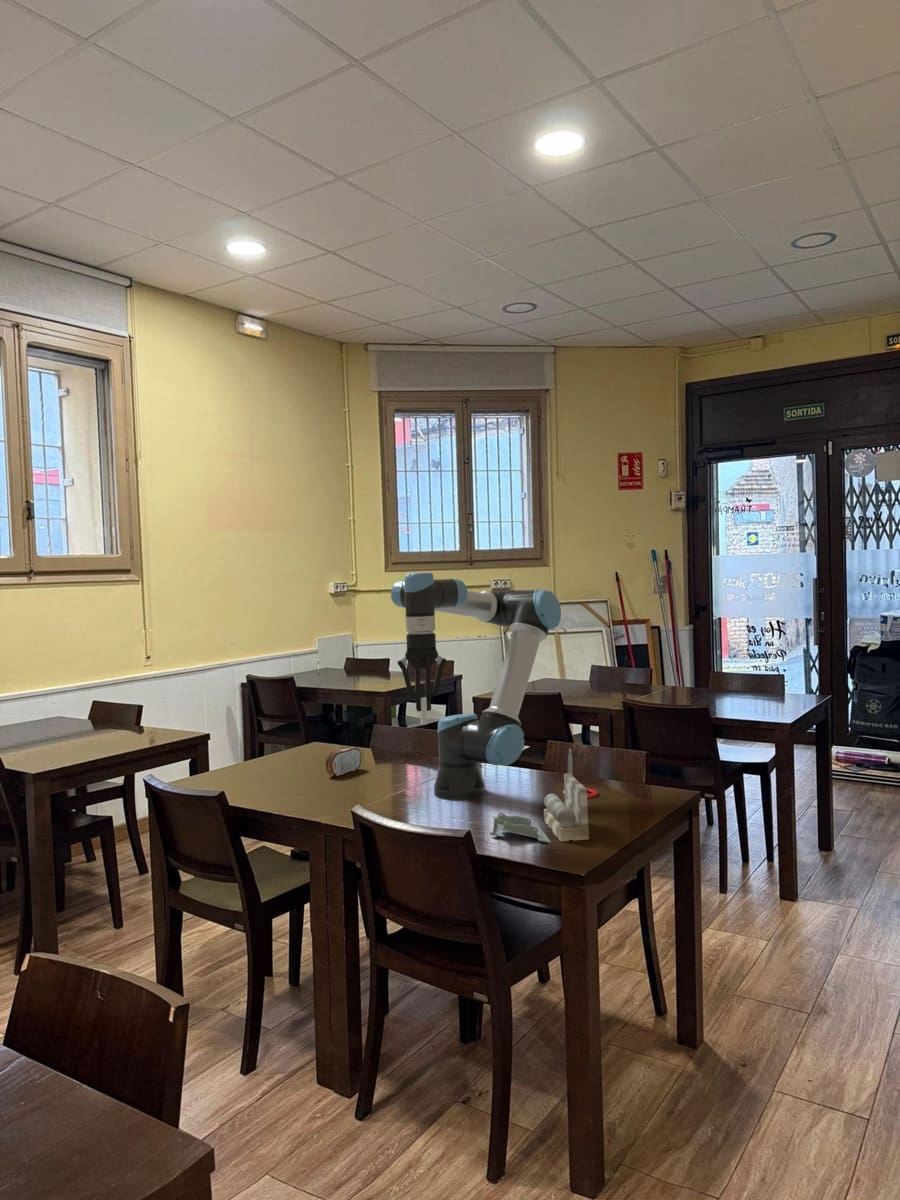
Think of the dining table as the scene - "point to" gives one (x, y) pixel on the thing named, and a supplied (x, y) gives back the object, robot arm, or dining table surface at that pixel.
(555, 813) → the hinge seat
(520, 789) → the dining table surface
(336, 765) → the tin
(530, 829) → the metal bracket
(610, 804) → the dining table surface
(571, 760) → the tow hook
